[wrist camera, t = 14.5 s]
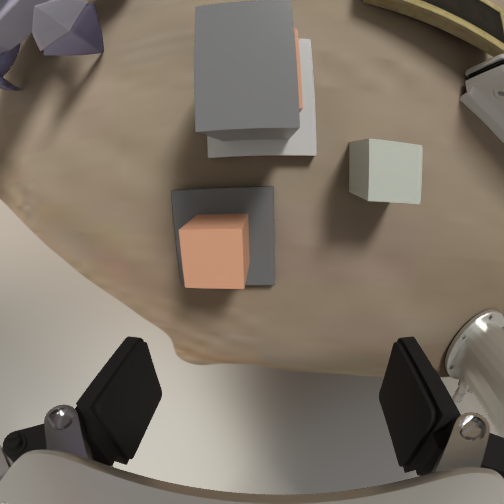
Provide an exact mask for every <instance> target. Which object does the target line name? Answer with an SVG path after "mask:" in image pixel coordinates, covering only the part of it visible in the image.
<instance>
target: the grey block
mask: <svg viewBox="0 0 504 504" xmlns="http://www.w3.org/2000/svg"><path fill="white" fill-rule="evenodd" d="M421 183H422V145H416V144H409V143H402V142H394V141H386V140H377V139H364V140H358V141H352V142H349V192H350V193H352V194H354V195H356V196H358V197H361V198H363V199H365V200H367V201H377V202H396V203H412V204H420V199H421Z"/></svg>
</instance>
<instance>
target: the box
mask: <svg viewBox="0 0 504 504" xmlns="http://www.w3.org/2000/svg"><path fill="white" fill-rule="evenodd" d="M364 3H367V4H370V5H374V6H378V7H382V8H385V9H388V10H391V11H395V12H398V13H401V14H404V15H407V16H410V17H412V18H415V19H418V20H420V21H423V22H426V23H428V24H430V25H433V26H435V27H438V28H440V29H442V30H444V31H446V32H448V33H451V34H452V35H454V36H456V37H459V38H460V39H462V40H464V41H466V42H468V43H470V44H472V45H474V46H476V47H478V48H479V49H481V50H483V51H484V52H486V53H488V54H490V55H491V56H493V57H495V56H497V55H500V54H504V10H503V9H501V8H500V7H498V6H496V5H495V4H493V3H491V2H490V1H488V0H364Z"/></svg>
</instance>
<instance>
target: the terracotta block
mask: <svg viewBox="0 0 504 504" xmlns="http://www.w3.org/2000/svg"><path fill="white" fill-rule="evenodd" d="M179 238H180V248H181V257H182V266H183V274H184V283H185V288H214V289H244V288H245V283H246V278H247V273H248V268H249V263H250V258H249V223H248V214H204V215H196V216H195V217H194V218H193V219H191V220H190V221H189V222H188V223H187V224H185V225H184V226H183V227H182V228H180V229H179Z"/></svg>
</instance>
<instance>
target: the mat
mask: <svg viewBox="0 0 504 504" xmlns="http://www.w3.org/2000/svg"><path fill="white" fill-rule="evenodd" d="M171 195H172V207H173V218H174V228H175V238H176V247H177V256H178V264H179V272H180V279H181V284H185V283H184V274H183V266H182V257H181V248H180V238H179V229H180V228H182V227H183V226H184V225H185V224H187V223H188V222H189V221H190V220H191V219H193V218H194V217H195V216H196V215H204V214H248V223H249V258H250V263H249V268H248V273H247V278H246V283H245V285H275V266H274V186H259V187H225V188H204V189H186V190H173V191H171Z"/></svg>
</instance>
